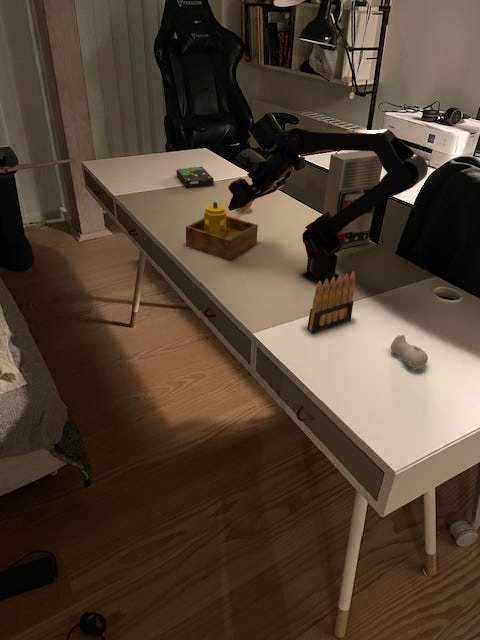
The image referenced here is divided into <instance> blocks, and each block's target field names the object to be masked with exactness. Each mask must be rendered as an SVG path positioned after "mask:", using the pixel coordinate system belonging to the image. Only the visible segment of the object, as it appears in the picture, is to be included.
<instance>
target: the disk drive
mask: <svg viewBox="0 0 480 640" xmlns="http://www.w3.org/2000/svg"><path fill="white" fill-rule="evenodd" d="M175 172H176V177H178V179H179V180H180V181H181V183H182V184H183V185H184V186H185V187H186V188H198V187H211V186H214V185H215V180H214V178H213V176H212V175H211V174H210V173H209V172H208V171H207V170H206V169H205V168H204V167H203V166H197V167H196V166H195V167H194V166H193V167H185V168H177V169H176V171H175Z"/></svg>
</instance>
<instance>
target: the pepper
mask: <svg viewBox="0 0 480 640" xmlns="http://www.w3.org/2000/svg"><path fill="white" fill-rule="evenodd" d="M226 216H227V210H226V208H225V206H224V205H223V204H218V202H217V201H213V202H212V204H208V205H206V206H205V209H204V211H203V218H204V231H205V232H208V233H211V234H214V235H217V236H220V237H223V236H225V235H226Z"/></svg>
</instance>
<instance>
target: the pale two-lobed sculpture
mask: <svg viewBox="0 0 480 640" xmlns="http://www.w3.org/2000/svg"><path fill="white" fill-rule="evenodd" d="M390 351H391V354H399V355H400V356H401V357H402V358H403V359H404V361H405V365H406V366H407V367H410V368H412V369H416V370H418V369H422V368H424V367H425V366H426V365H427V363H428V360H429V356H428V354H427V352H426V351H424V350H423V349H422V348H421V347H419V346H417V345H414V344H410V343H408V342H407V340H406V335H403V334H397V335H396V336H395V338H394V339H393V341H392V342H391V344H390Z"/></svg>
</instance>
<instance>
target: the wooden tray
mask: <svg viewBox="0 0 480 640" xmlns="http://www.w3.org/2000/svg"><path fill="white" fill-rule="evenodd" d="M258 228H259V225H258V224H256V223H253V222H250V221H247V220H242V219H240V218H236V217H233V216H229V215H226V235H225V236H223V237H220V236H217V235H214V234H211V233H208V232H205V231H204V217H203V218H201V219H199V220H197V221H195V222H193V223H190V224H189V225H186V226H185V245H186V246H187V247H189V248H192V249H195V250H198V251H200V252H201V251H202V252H204V253H207V254H211V255H213V256H216V257H219V258H222V259H225V260H227V261H230V260H232V259H234V258H235V257H237V256H238V255H241V253H243V252H244V251H246V250H248V249H249V248H251V247H253V246H254V245H256V244H257V243H258V232H259V231H258Z"/></svg>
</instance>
